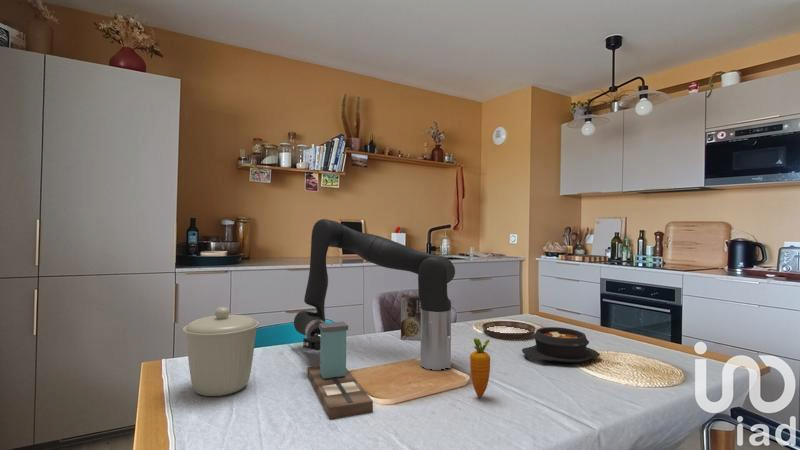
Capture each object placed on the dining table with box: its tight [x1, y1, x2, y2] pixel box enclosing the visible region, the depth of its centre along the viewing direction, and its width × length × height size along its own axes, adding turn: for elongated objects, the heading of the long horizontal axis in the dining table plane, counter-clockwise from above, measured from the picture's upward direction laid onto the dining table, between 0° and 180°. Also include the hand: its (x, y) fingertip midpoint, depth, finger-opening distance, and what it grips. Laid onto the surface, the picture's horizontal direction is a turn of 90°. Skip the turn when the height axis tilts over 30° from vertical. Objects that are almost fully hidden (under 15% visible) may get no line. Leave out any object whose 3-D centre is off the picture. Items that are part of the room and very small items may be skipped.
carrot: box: [469, 337, 491, 399], centre depth 101 cm, size 5×5×15 cm
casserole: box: [521, 326, 601, 364], centre depth 133 cm, size 25×19×8 cm
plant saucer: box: [481, 320, 537, 341], centre depth 163 cm, size 21×21×3 cm
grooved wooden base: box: [306, 365, 374, 420], centre depth 104 cm, size 28×10×3 cm, turn 22°
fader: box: [319, 321, 349, 379], centre depth 108 cm, size 5×7×13 cm
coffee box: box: [400, 293, 421, 341], centre depth 156 cm, size 9×6×16 cm
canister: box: [182, 306, 260, 397], centre depth 106 cm, size 18×18×21 cm
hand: (331, 349), depth 110 cm, fingers closed
